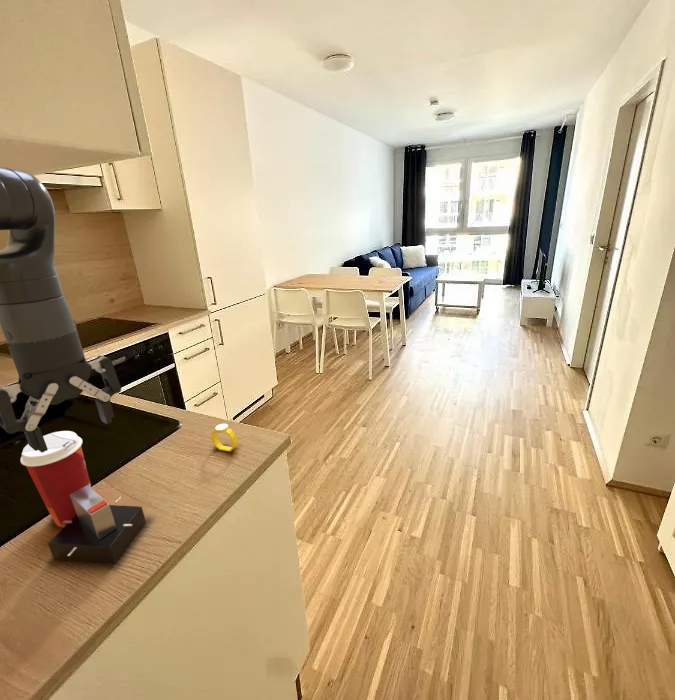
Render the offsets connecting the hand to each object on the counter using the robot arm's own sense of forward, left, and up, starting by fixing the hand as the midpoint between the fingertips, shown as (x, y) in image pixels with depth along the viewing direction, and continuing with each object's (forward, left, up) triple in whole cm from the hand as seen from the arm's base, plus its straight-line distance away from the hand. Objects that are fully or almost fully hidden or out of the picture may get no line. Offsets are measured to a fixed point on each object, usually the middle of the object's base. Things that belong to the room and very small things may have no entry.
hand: (76, 435), depth 54 cm
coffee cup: (-9, +3, -19) cm, 21 cm away
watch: (+11, +23, -19) cm, 32 cm away
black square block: (0, -2, -19) cm, 19 cm away
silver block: (0, -2, -15) cm, 16 cm away
